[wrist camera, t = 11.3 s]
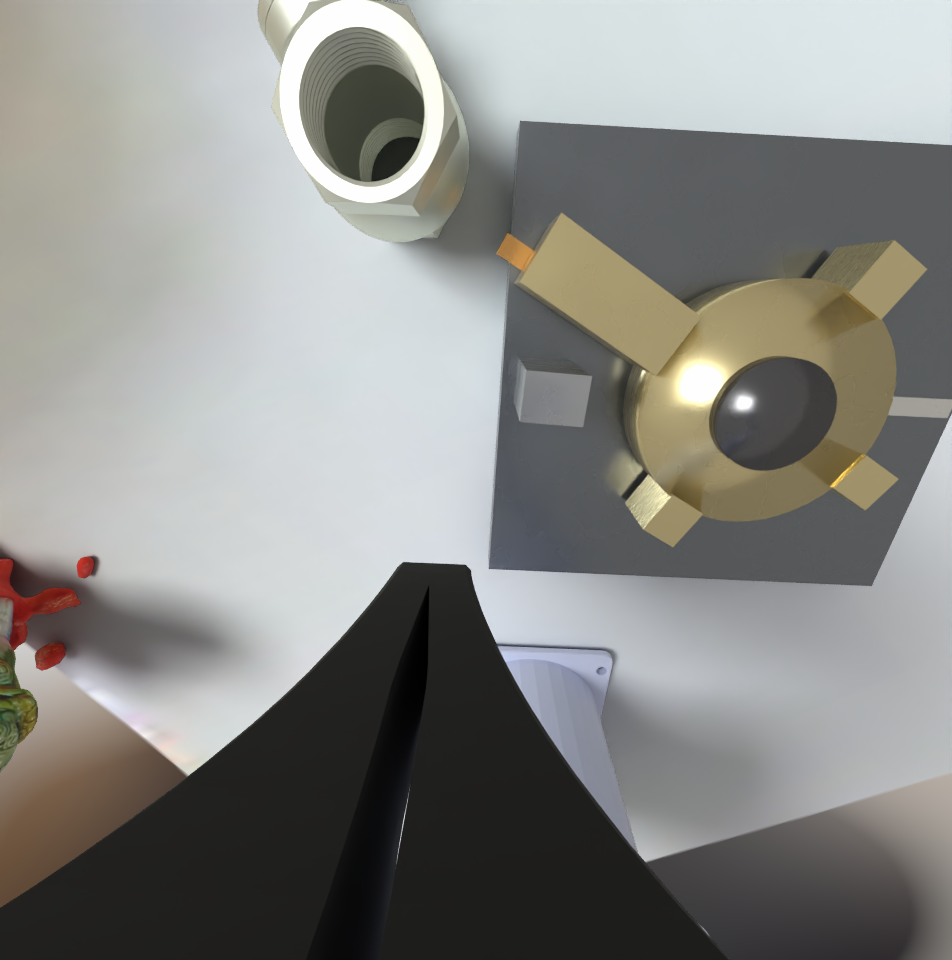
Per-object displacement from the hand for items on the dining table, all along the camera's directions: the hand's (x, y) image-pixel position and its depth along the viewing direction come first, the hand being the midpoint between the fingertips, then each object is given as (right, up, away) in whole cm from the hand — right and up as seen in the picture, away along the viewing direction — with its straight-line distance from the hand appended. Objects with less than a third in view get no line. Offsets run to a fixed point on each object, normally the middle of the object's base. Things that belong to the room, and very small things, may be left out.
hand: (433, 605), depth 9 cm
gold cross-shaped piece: (+9, +6, +7) cm, 13 cm away
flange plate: (+10, +6, +9) cm, 15 cm away
